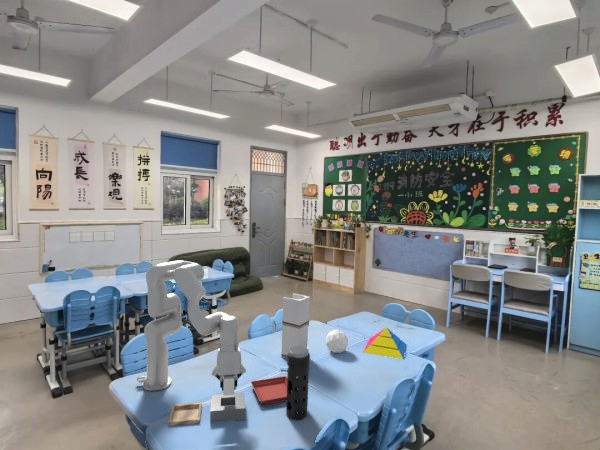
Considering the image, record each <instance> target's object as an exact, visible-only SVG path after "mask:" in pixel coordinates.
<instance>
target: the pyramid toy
mask: <svg viewBox="0 0 600 450" xmlns="http://www.w3.org/2000/svg"><path fill="white" fill-rule="evenodd" d="M407 346H408V345H407V343H406V342H404V341H403V340H402V339H401V338H400V337H398V336H397V335H396V334H395V333H394V332H393V331H392V330H391V329H389V328H388V327H384V328H383V329H382V330H380V331H378V332H377V333H375V334H373V336H371V337H370V338H369V339H368V341H367V343H366V345H365V347H364V349H363V351H362V353H363V354H368V355H373V356H378V355H379V356H380V357H384V356H387V357H386V358H389V357H393V358H392V359H395V358H399V359H398V360H401V359H403V358H404V359H405V357H404V353H405V354H406V351H407V350H406V349H407ZM379 356H378V357H379Z"/></svg>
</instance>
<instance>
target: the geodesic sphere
mask: <svg viewBox="0 0 600 450" xmlns="http://www.w3.org/2000/svg"><path fill="white" fill-rule="evenodd" d="M325 345H326V348H328V350H329V351H330V352H331V353H334V354H341V353H342V352H344V351H346V350H347V348H348V346H349V339H348V337H347V335H346V333H345V332H343V330H340V329H334V330H331V331H330V332H328V334H327V335H326V337H325Z"/></svg>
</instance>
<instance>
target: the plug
mask: <svg viewBox="0 0 600 450" xmlns="http://www.w3.org/2000/svg"><path fill="white" fill-rule="evenodd" d="M234 377H235V376H234V375H224V376H223V391H222V394H223V396H224V395H234V393H235V390H234Z"/></svg>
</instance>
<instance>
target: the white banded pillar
mask: <svg viewBox="0 0 600 450" xmlns="http://www.w3.org/2000/svg"><path fill="white" fill-rule="evenodd" d="M310 302H311V296H308V295H304V294H299V293H294V292H293V293H292V297H286V296H283V297H282V318H281V319H282V323H281V324H282V325H281V356H280V357H281V358H282V359H286V360H287V354H288V353H289V349H290V348H292V347H295V346H302V347H306V348H307V349H308V341H309V340H308V337H309V334H308V333H309V326H310V312H311V311H310V309H311V308H310V307H311V306H310V305H311V303H310Z"/></svg>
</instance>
